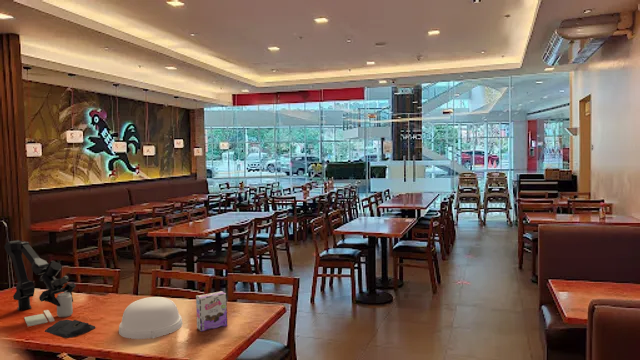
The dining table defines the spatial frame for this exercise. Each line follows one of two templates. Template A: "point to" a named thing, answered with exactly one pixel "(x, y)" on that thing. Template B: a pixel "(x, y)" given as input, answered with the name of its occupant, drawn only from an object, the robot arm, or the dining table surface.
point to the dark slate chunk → (69, 328)
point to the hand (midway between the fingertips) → (66, 303)
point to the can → (64, 304)
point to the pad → (35, 320)
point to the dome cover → (150, 318)
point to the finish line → (49, 315)
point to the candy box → (211, 310)
